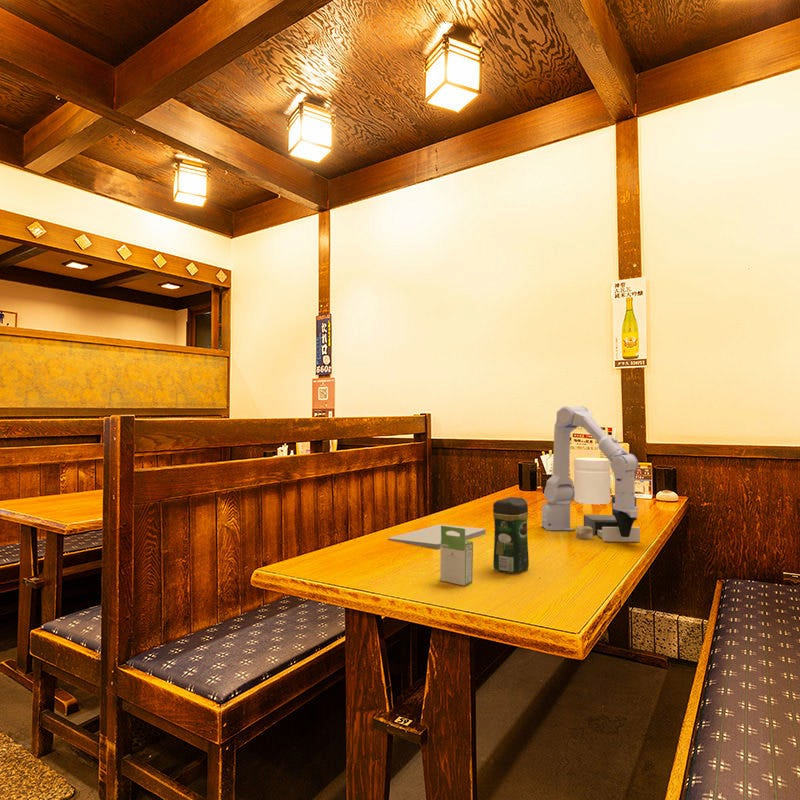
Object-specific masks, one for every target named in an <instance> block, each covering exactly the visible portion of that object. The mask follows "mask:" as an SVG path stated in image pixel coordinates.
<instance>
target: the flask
mask: <svg viewBox="0 0 800 800" xmlns="http://www.w3.org/2000/svg"><path fill="white" fill-rule="evenodd" d="M613 503H615V495H612V496H611V513H612V514H611V515H614V513H618V512H619V511H618V510H614V509H613ZM635 507H637V496H635ZM636 511H638V510H636ZM635 521H637V518H636V519H635Z"/></svg>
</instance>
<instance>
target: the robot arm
mask: <svg viewBox="0 0 800 800" xmlns="http://www.w3.org/2000/svg"><path fill="white" fill-rule="evenodd" d="M576 428H583V429H584V430H585V431H586V432H588V434H589V435H590V436H591V437H592V438H593V439H594V440H595V441H596V442H598V447H597V448H598V449H599V450H600V452H601V453H602V454H603V455H604V456H605V457H606V459H608V460H609V461H610V469H611V470H612V472H613V477H614V496H615V503H613V509H614V510H618V511H619V512H618V513H614V516H615V518H616V520H617V523H618V526H619V531H620V535H621V536H622V537H629V535H630V531H631V528H632V527H633V523H634V522H635V521H636V520H637V519H636V518H638V515H639V514H638V513H639V512H638V510H639V509H640V508H639V507H638V506H636V507H635V497H636V495H635V483H636V482H635V481H636V480H635V479H636V477H635V472H636V471H637V470H638V468H639V461H638V458H637V457H636V455H634V454H632V453H629V452H628V451H627V450H626V449H625V448H623V447H622V445H621V444H620V443H619V441H618V439H617V437H613V436H607V434H606V432H604V430H603V429H602V427H600V425H599V424H598V422H597V421H596V420H595V419H594V417H593V413H592V412H591V411H590V410H589V409H588V407H586V406H567V405H565V406H562V407H561V408H559V410H557V411H556V421H555V424H554V429H553V430H554V431H553V433H554V434H553V458H552V459H553V461H552V476H551V477H549V478H548V479H547V480H546V485H545V488H544V490H543V496H544V499H545V500H546V502H547V503H546V502H545V503H543V504H542V507H541V527H543V528H544V530H546V531H575V528H573V527H572V526H571V504H572V501H573V500H574V497H575V490H574V481H573V480H572V479H571V478H570V476H569V475H570V455H571V454H570V450H571V449H570V448H571V444H570V443H571V433H572V432H573V431H574V430H575V429H576ZM636 510H637V511H636ZM635 519H636V520H635Z"/></svg>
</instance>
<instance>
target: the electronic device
mask: <svg viewBox="0 0 800 800" xmlns="http://www.w3.org/2000/svg"><path fill="white" fill-rule="evenodd" d="M441 526H448V527H455V528H463V529H465V541H469V540H471V539H475V538H477V537H481V536H483V535H486V531H487V530H486V528H481V527H472V526H471V527H469V526H458V525H447V524H435V525H433V526H428V527H424V528H421V529H417V530H413V531H410V532H405V533H402V534H398V535H394V536H391V537H388V539H387V540H388V541H391V542H392V541H393V542H397V543H403V544H408V545H414V546H418V547H423V548H429V549H433V550H441ZM446 534H447V535H453V536H460V534H459V533H457V532H455V531H448V532H446Z"/></svg>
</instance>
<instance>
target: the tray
mask: <svg viewBox="0 0 800 800" xmlns="http://www.w3.org/2000/svg"><path fill="white" fill-rule="evenodd" d="M596 536H598V537H599V538H601V541H602V542H610V543H611V542H617V543H618V542H620V543H621V542H622V543H623V542H624V543H625V542H628V543H629V542H630V543H632V542H633V543H634V542H635V543H636V542H639V543H640V542H641V527H638V526H632V528H631V531H630V535H629V537H622V536H621V535H620V531H619V527H602V530H596Z"/></svg>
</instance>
